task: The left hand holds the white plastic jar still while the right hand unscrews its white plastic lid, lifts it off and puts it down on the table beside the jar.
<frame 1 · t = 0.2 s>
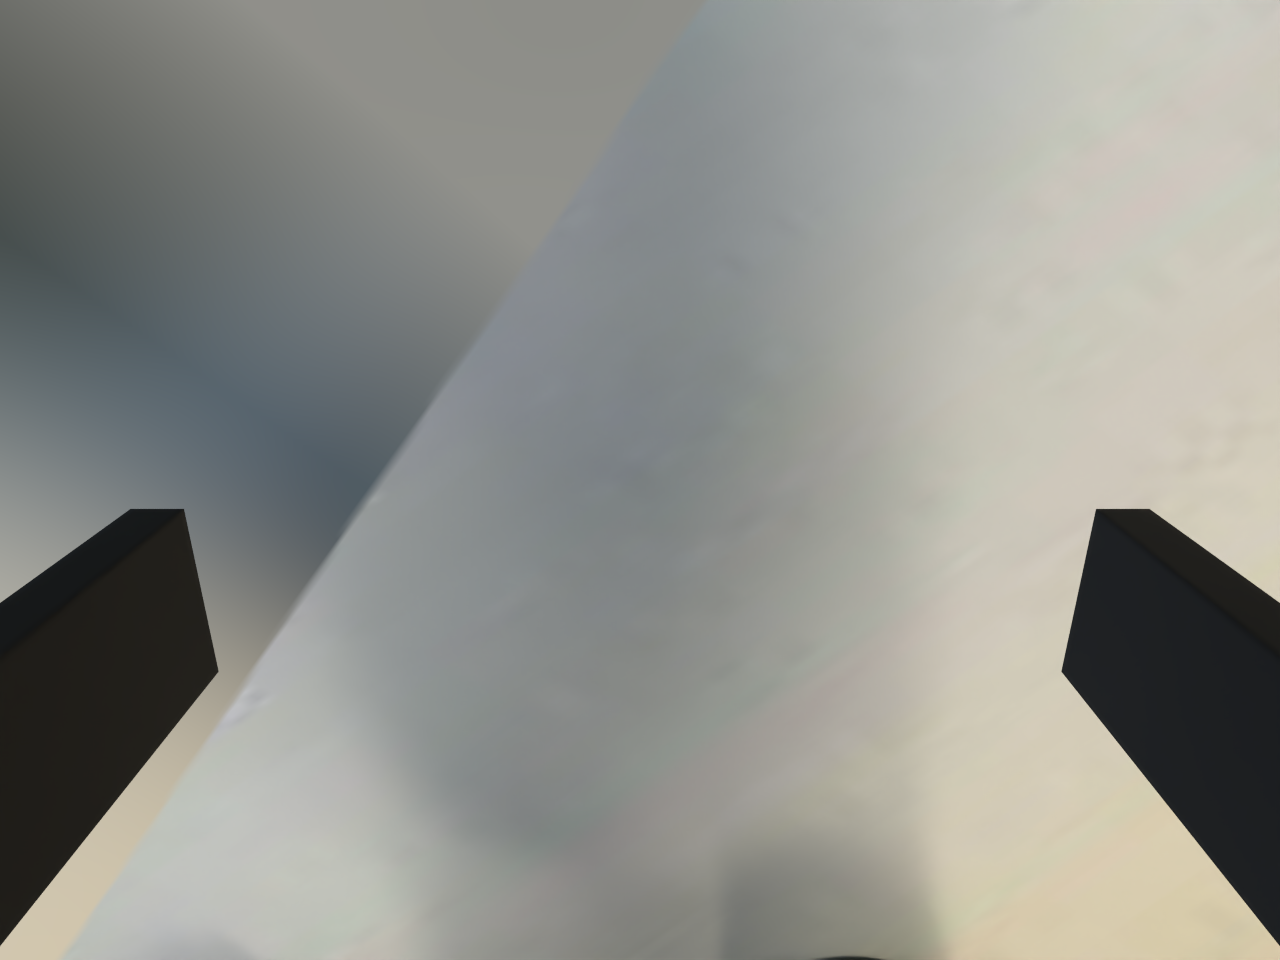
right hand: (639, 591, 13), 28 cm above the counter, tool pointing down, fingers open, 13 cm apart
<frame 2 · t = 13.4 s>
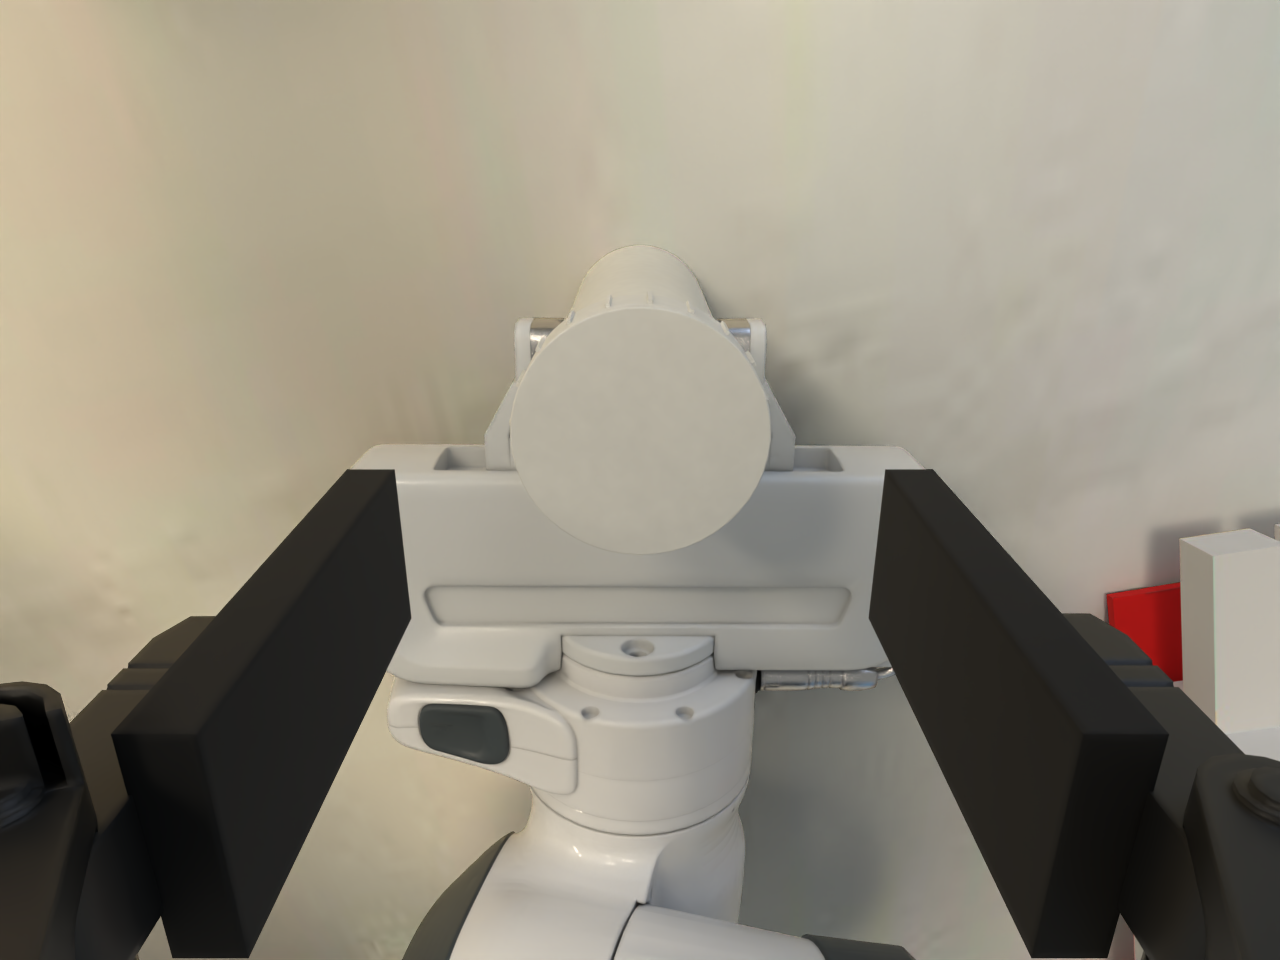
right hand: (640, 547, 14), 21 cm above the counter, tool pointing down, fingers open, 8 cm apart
left hand: (639, 320, 27), fingers closed on jar, 5 cm apart
lid: (640, 433, 19), point 15 cm above the counter, screwed on, not yet turned
jar: (640, 310, 34), on the counter, touching left hand
toy: (1188, 773, 42), on the counter
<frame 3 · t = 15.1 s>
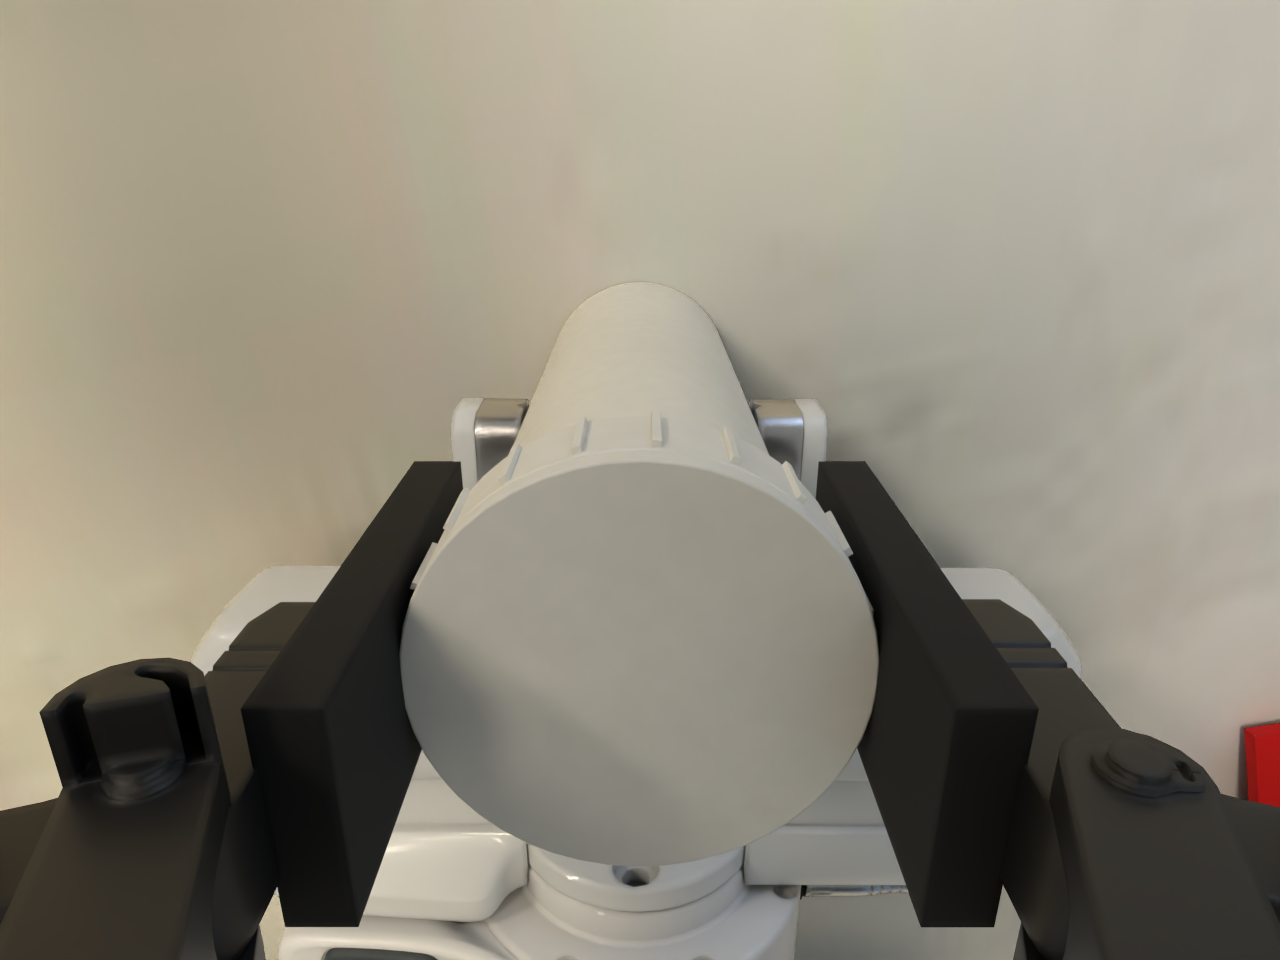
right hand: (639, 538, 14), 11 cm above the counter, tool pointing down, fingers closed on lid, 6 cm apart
lid: (639, 668, 11), point 15 cm above the counter, screwed on, not yet turned, touching right hand
jar: (639, 369, 25), on the counter, touching left hand
when the right hand's fingers open (12 cm above the counter, at t = 16.8 s): lid stays where it is, point 16 cm above the counter.
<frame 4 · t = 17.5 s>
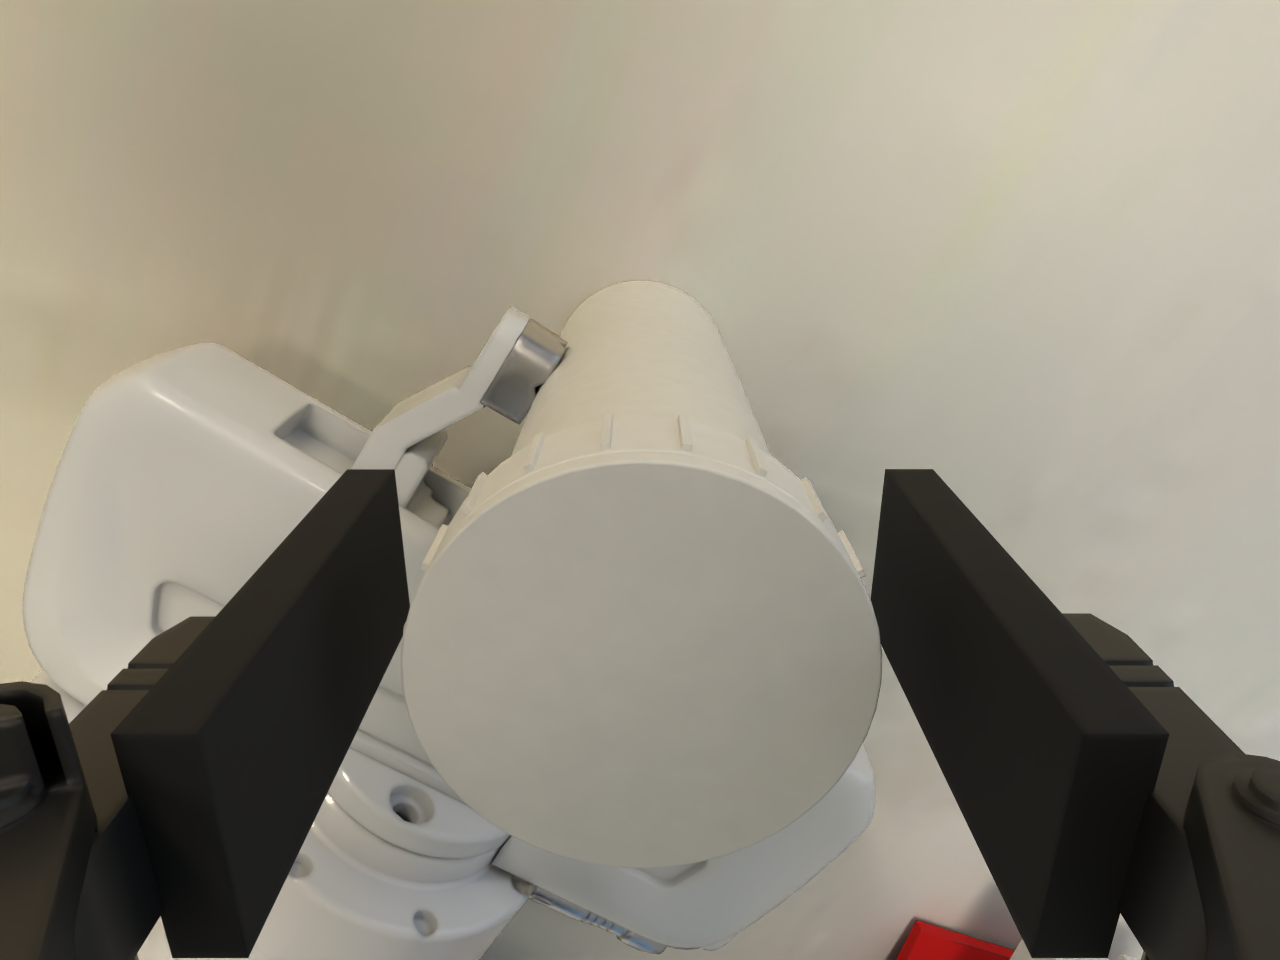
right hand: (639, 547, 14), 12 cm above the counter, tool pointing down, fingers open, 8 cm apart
left hand: (661, 405, 19), fingers closed on jar, 5 cm apart
lid: (641, 669, 11), point 16 cm above the counter, turned 117° so far, risen 0.4 cm, still on its thread
jar: (640, 366, 25), on the counter, touching left hand
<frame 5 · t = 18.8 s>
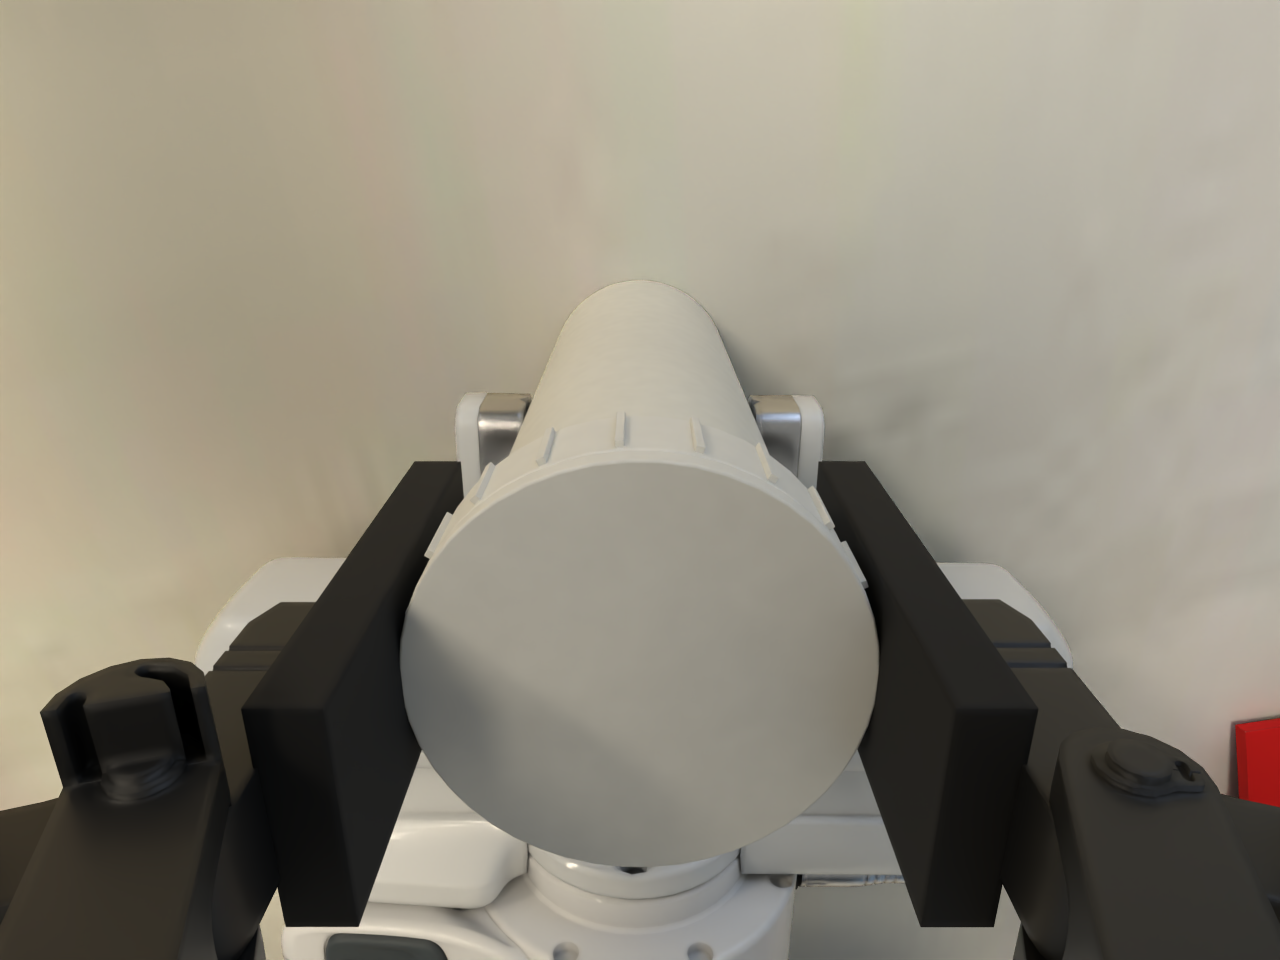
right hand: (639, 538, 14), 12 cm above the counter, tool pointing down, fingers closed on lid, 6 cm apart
lid: (639, 668, 11), point 16 cm above the counter, turned 117° so far, risen 0.4 cm, still on its thread, touching right hand
jar: (639, 366, 25), on the counter, touching left hand
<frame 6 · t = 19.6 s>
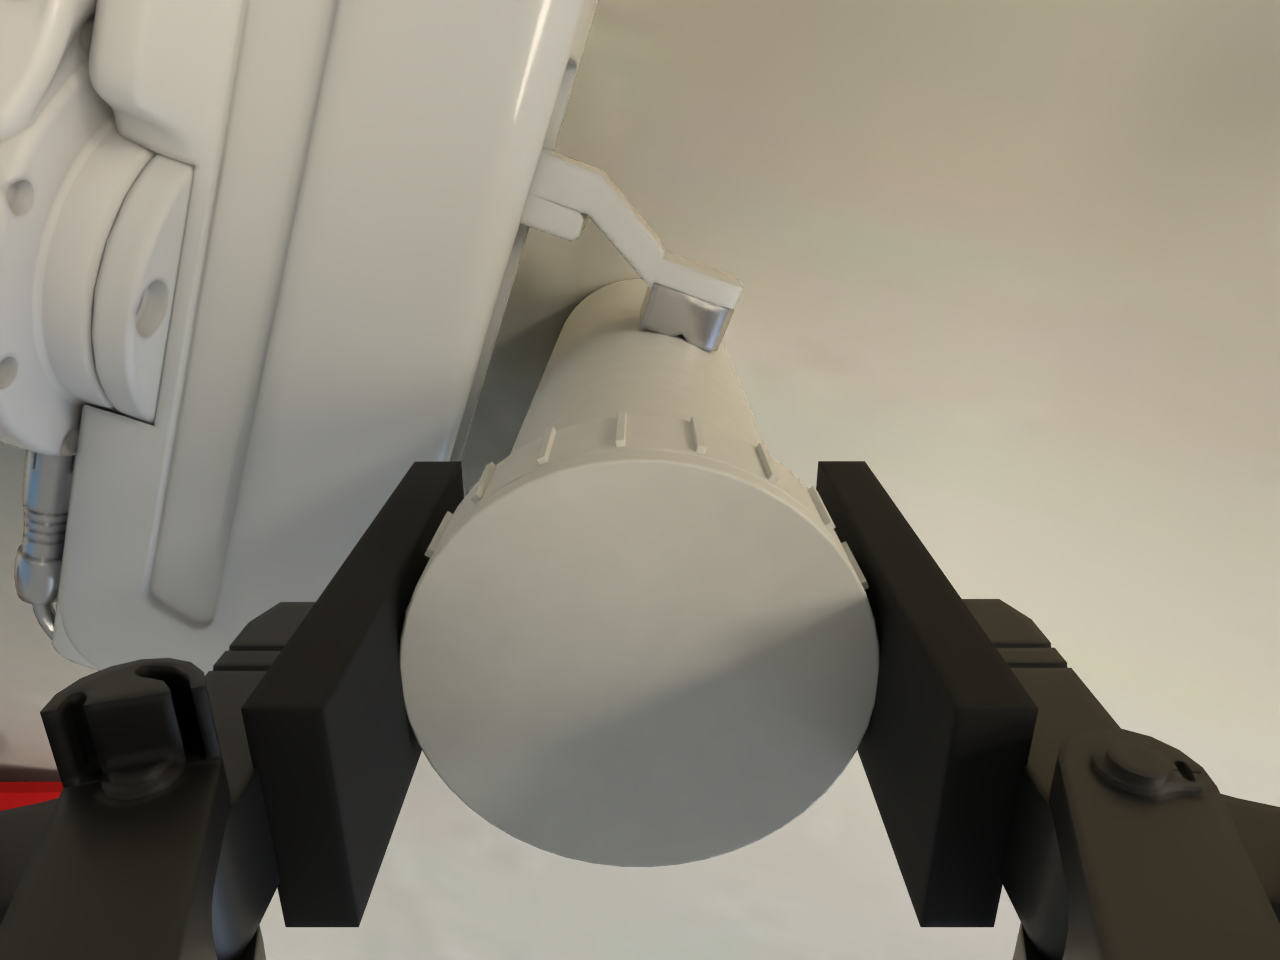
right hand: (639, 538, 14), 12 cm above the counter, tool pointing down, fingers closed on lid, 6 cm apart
left hand: (676, 445, 19), fingers closed on jar, 5 cm apart
lid: (639, 668, 11), point 16 cm above the counter, off its thread, touching right hand
jar: (639, 363, 26), on the counter, touching left hand
when the right hand's fingers open (0 cm above the counter, at t = 25.7 s): lid drops 2 cm, point 1 cm above the counter.
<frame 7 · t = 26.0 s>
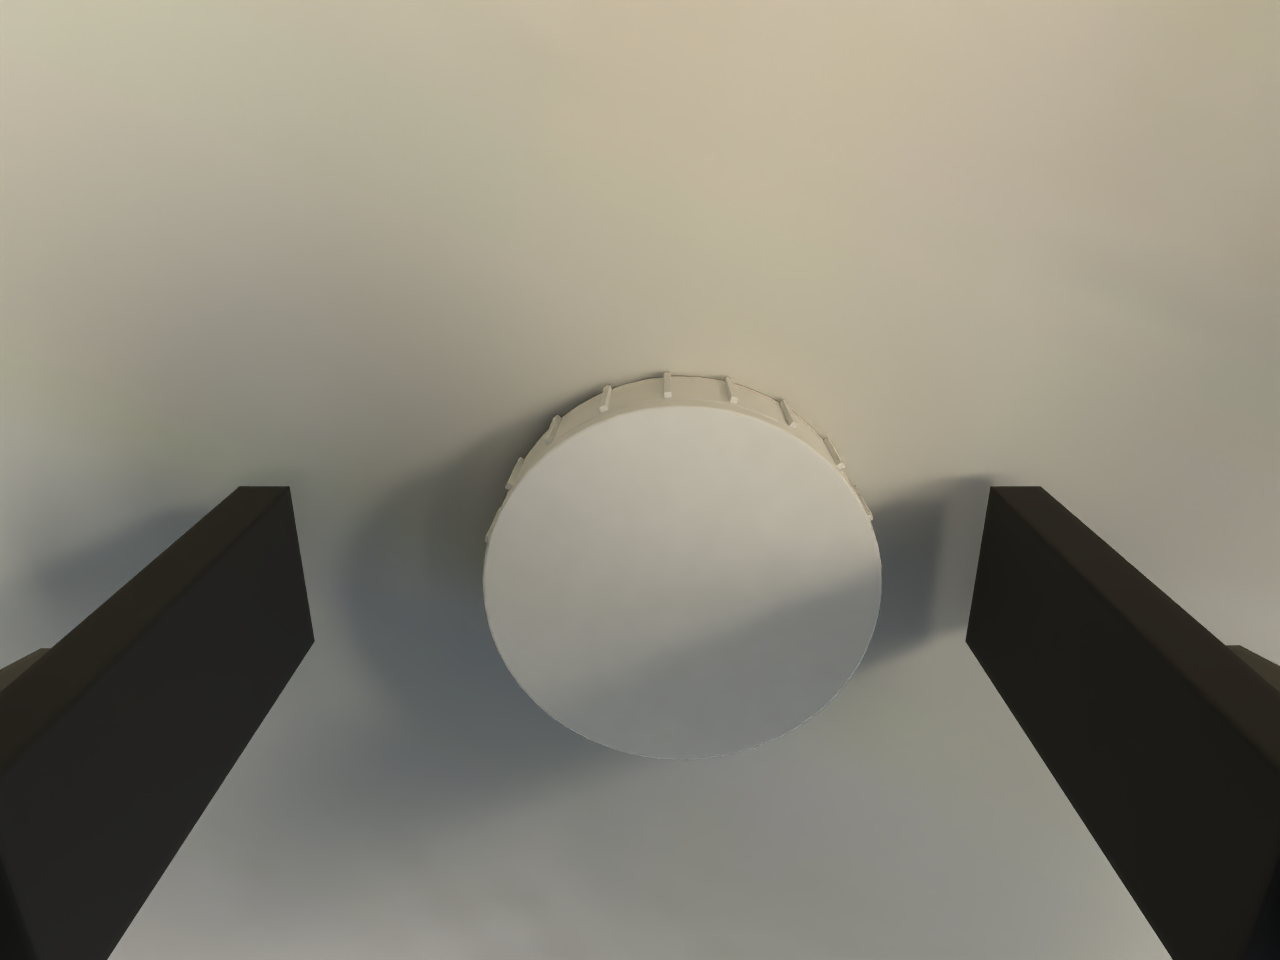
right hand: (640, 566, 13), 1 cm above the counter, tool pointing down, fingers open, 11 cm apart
lid: (680, 586, 13), point 1 cm above the counter, off its thread
when the left hand's fingers open (7 cm above the counter, at t = 26.8 s): jar stays where it is, on the counter.
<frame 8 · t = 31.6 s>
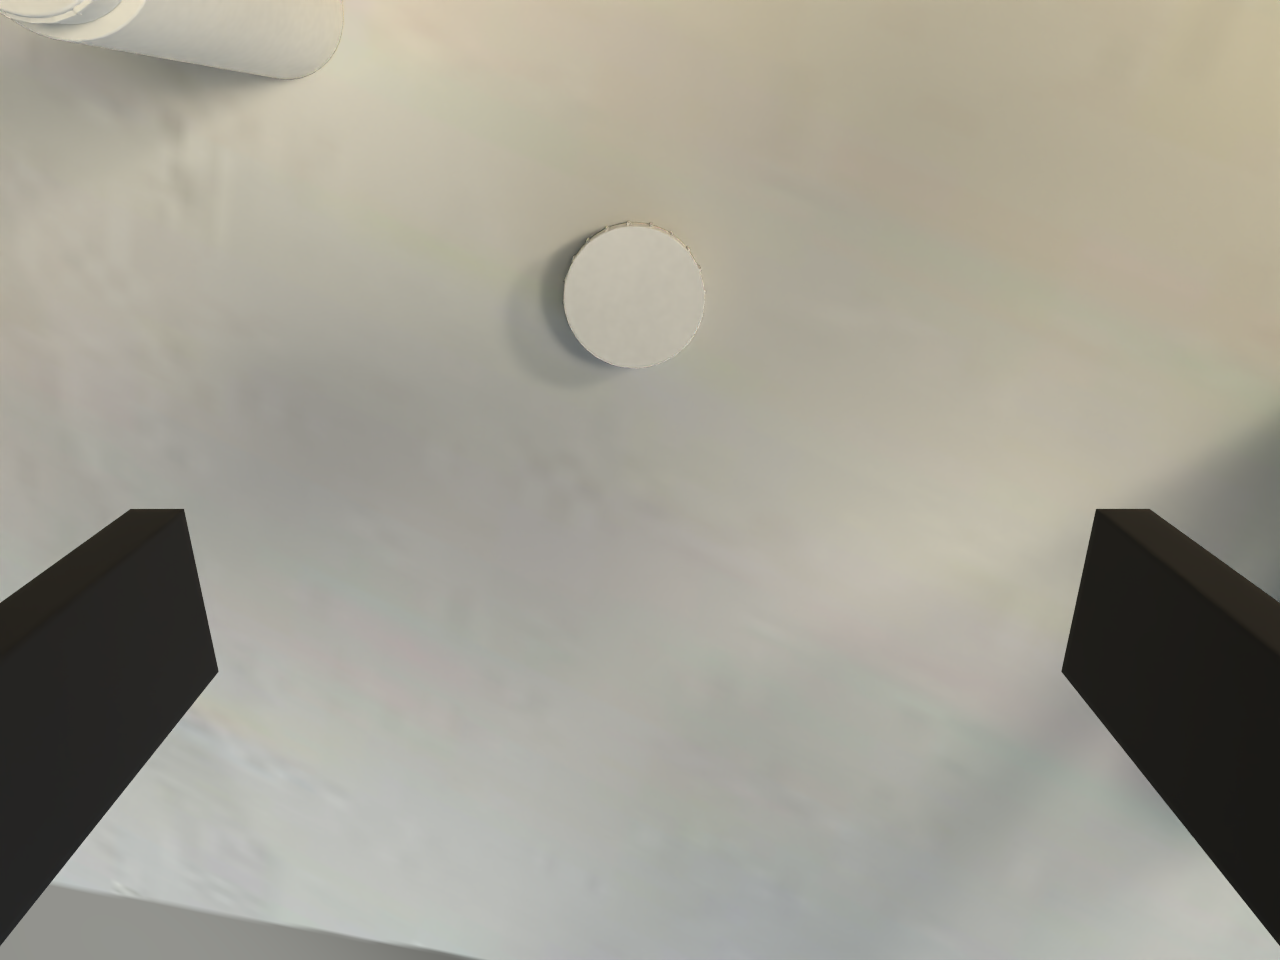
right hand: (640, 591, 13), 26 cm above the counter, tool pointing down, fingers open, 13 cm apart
lid: (634, 298, 36), point 1 cm above the counter, off its thread
jar: (278, 7, 33), on the counter
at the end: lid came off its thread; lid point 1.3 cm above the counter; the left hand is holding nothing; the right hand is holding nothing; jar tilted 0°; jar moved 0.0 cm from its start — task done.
